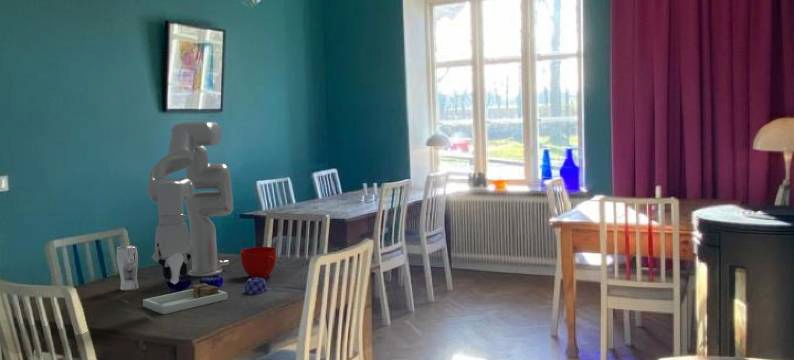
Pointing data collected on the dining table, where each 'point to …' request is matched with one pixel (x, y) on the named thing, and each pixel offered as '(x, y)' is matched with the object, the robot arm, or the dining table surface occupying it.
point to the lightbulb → (175, 266)
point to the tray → (181, 301)
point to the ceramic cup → (258, 261)
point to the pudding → (256, 286)
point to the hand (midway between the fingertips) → (175, 276)
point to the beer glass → (127, 267)
